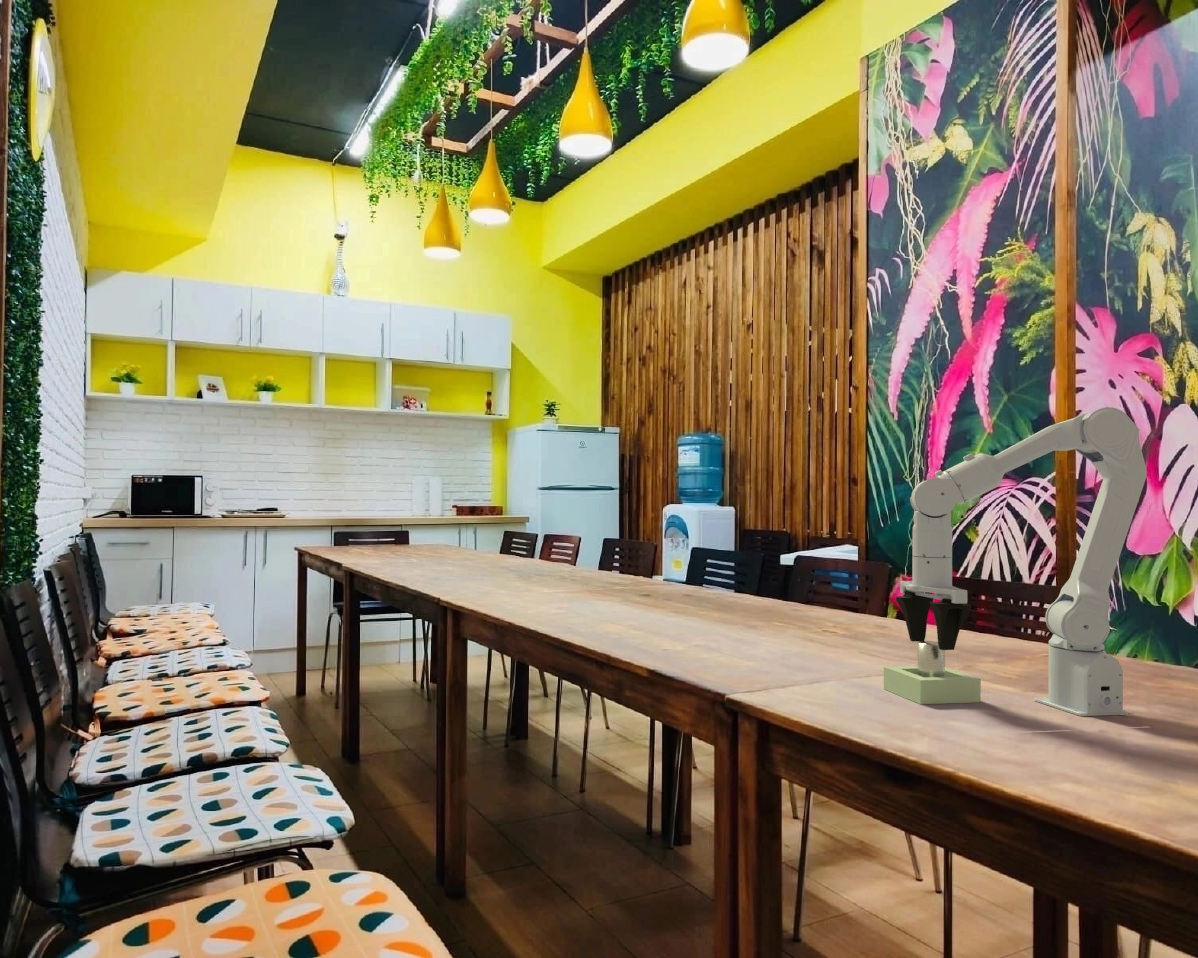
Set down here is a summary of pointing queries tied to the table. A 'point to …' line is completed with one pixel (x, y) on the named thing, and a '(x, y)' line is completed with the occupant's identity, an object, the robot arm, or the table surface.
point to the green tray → (932, 686)
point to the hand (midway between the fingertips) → (931, 645)
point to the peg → (930, 659)
